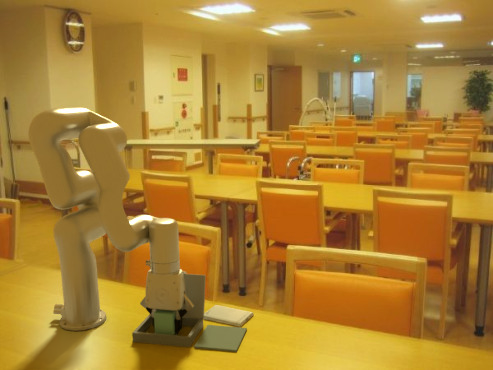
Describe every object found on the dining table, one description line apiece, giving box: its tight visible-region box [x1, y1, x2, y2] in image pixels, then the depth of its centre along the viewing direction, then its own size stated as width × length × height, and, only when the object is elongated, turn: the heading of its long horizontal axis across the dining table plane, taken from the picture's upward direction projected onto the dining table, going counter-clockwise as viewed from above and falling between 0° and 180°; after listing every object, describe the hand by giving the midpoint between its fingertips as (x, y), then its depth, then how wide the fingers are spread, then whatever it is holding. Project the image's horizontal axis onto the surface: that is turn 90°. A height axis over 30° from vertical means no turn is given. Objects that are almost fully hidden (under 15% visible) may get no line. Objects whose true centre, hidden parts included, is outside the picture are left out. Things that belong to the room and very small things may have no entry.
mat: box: [193, 324, 248, 353], centre depth 133 cm, size 11×12×1 cm
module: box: [154, 309, 178, 335], centre depth 136 cm, size 5×6×7 cm
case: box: [131, 313, 204, 348], centre depth 136 cm, size 16×12×2 cm
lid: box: [182, 270, 207, 318], centre depth 142 cm, size 16×12×2 cm
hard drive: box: [203, 304, 254, 328], centre depth 146 cm, size 2×8×12 cm
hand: (168, 329), depth 136 cm, fingers closed on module, 5 cm apart
